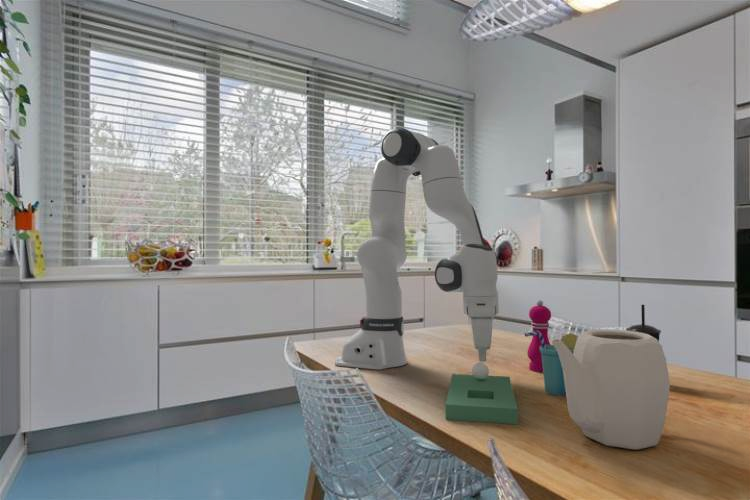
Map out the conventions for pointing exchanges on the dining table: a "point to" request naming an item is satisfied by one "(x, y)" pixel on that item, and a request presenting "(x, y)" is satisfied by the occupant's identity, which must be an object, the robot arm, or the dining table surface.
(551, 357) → the cup
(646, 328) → the drinking cup
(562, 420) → the dining table surface
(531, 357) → the pepper mill
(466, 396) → the putting mat
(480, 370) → the ball
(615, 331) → the watering can
